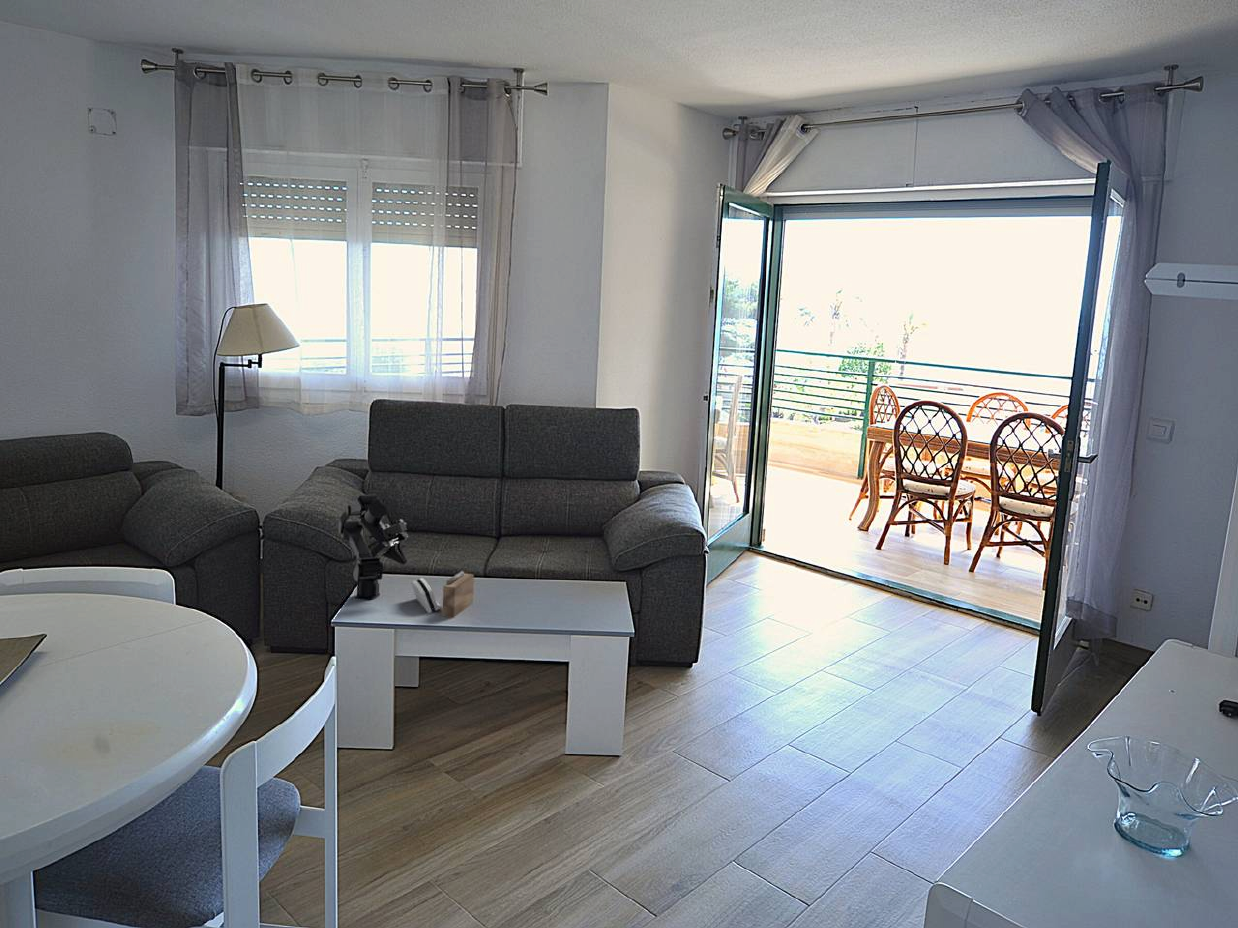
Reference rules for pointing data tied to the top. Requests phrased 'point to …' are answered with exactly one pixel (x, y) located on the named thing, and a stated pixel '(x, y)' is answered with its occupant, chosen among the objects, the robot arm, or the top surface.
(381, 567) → the robot arm
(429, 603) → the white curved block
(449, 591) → the tan flat boxy piece
